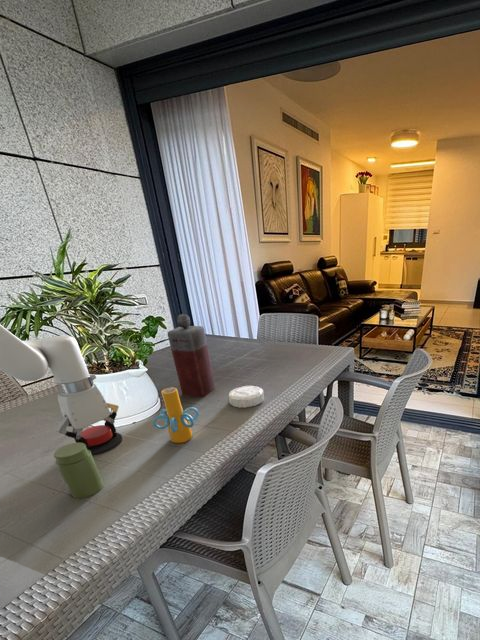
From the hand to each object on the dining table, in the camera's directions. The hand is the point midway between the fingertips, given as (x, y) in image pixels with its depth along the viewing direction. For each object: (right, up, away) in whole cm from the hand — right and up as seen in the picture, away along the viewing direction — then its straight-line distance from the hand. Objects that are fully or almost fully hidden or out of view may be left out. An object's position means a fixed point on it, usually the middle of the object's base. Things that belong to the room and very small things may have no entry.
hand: (98, 441), depth 100 cm
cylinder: (+23, +1, +2) cm, 23 cm away
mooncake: (+38, +13, +23) cm, 46 cm away
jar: (+8, -10, -18) cm, 22 cm away
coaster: (0, -1, 0) cm, 1 cm away
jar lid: (0, +3, -1) cm, 3 cm away
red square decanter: (+17, +18, +32) cm, 40 cm away
